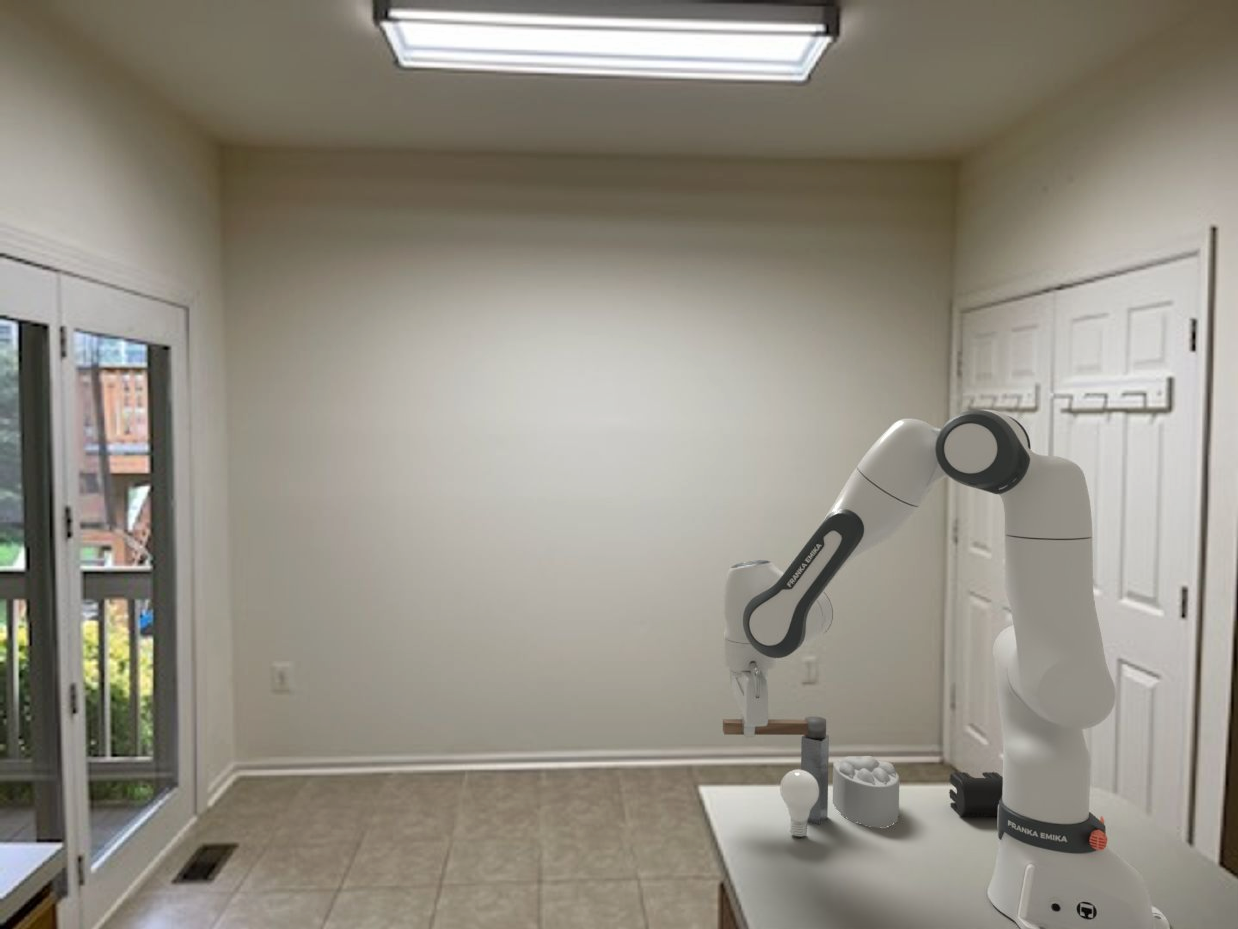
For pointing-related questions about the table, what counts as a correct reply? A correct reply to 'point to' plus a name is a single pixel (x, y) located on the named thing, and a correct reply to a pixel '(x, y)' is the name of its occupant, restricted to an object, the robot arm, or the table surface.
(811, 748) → the post
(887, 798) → the lumpy-topped squat cylinder
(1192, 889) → the table surface
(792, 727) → the hammer
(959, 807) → the end cap
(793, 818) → the lightbulb
